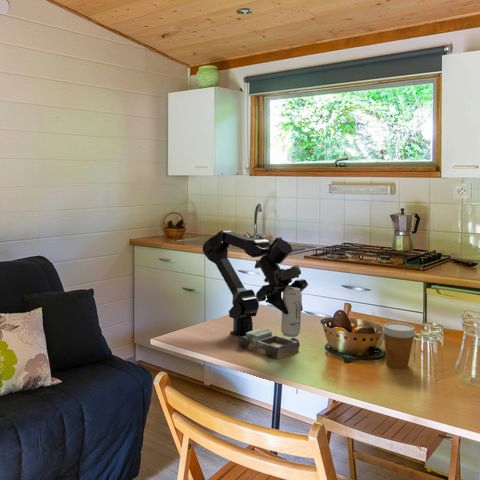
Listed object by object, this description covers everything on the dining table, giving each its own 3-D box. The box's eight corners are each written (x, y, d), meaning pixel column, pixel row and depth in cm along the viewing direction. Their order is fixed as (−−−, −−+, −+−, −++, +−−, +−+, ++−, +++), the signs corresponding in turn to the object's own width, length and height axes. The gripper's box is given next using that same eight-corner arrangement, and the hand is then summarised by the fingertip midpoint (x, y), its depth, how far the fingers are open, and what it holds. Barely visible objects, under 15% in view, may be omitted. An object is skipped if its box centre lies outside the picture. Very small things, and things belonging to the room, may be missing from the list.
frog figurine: (388, 350, 175) (390, 329, 174) (369, 351, 173) (370, 330, 172) (380, 344, 180) (381, 324, 180) (361, 345, 179) (362, 325, 178)
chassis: (236, 346, 176) (237, 333, 175) (262, 338, 184) (262, 325, 184) (275, 359, 164) (275, 345, 163) (300, 350, 172) (301, 337, 172)
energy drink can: (293, 339, 166) (295, 292, 164) (277, 334, 170) (279, 288, 168) (303, 334, 171) (305, 288, 169) (287, 330, 175) (289, 285, 173)
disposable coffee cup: (419, 370, 157) (421, 330, 156) (388, 371, 156) (391, 331, 154) (404, 358, 167) (406, 321, 165) (375, 360, 165) (377, 322, 164)
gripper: (263, 260, 164) (287, 303, 157) (305, 255, 176) (329, 294, 169) (246, 280, 171) (267, 322, 165) (287, 274, 183) (309, 312, 176)
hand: (294, 312), depth 168 cm, fingers closed on energy drink can, 6 cm apart
